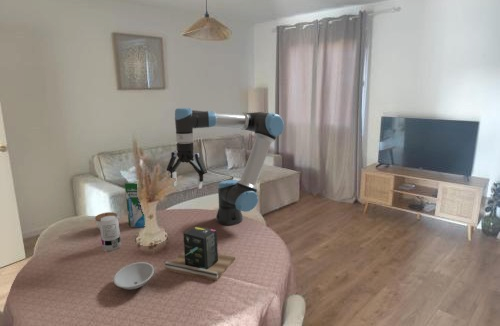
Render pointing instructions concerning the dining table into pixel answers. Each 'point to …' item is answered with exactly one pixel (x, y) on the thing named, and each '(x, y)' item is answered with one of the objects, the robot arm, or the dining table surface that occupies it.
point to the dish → (133, 275)
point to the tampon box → (200, 247)
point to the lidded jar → (102, 217)
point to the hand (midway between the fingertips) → (187, 186)
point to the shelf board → (210, 273)
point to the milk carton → (134, 206)
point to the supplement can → (110, 233)
